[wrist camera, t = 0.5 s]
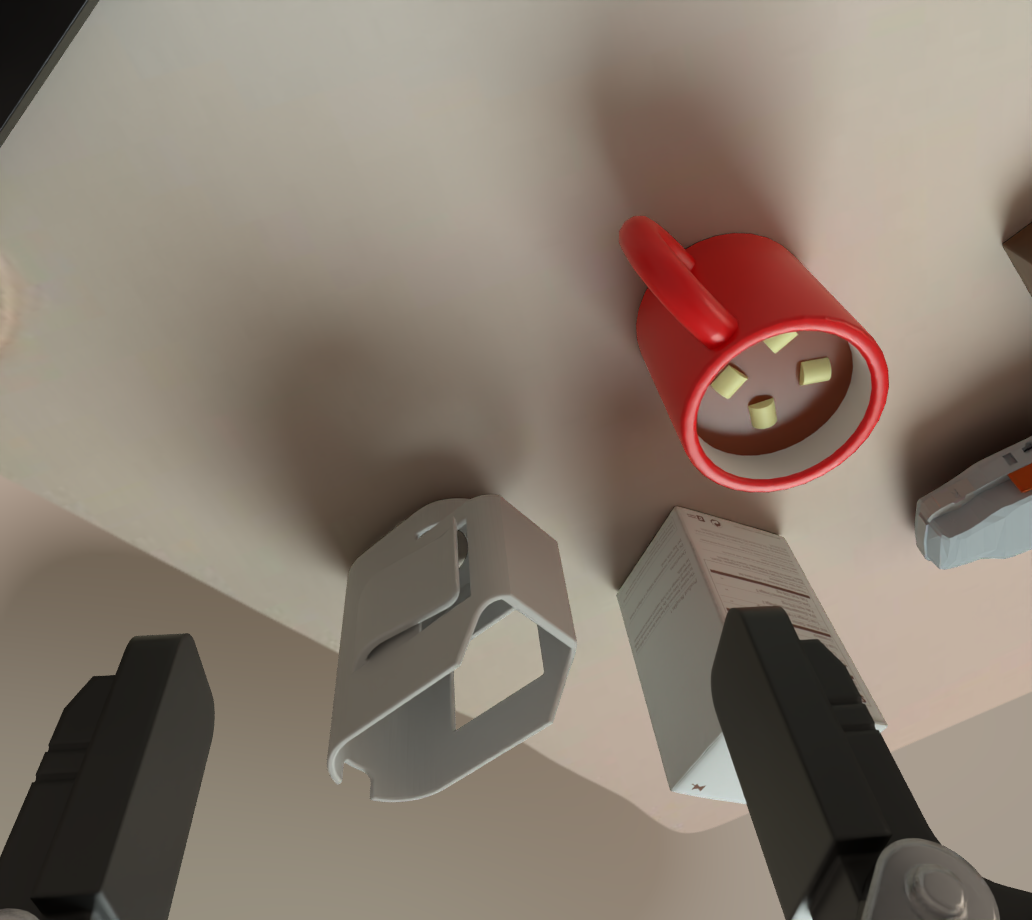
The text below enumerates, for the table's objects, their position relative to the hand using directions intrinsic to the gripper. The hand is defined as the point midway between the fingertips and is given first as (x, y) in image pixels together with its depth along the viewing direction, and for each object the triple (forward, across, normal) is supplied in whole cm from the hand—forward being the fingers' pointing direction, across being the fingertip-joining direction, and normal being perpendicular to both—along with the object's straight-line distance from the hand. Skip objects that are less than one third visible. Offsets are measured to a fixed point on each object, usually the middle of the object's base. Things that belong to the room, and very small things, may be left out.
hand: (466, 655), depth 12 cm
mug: (+24, -11, +5) cm, 27 cm away
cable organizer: (+24, 0, +19) cm, 30 cm away
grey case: (+22, -33, +18) cm, 44 cm away
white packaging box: (+24, -14, +22) cm, 35 cm away
